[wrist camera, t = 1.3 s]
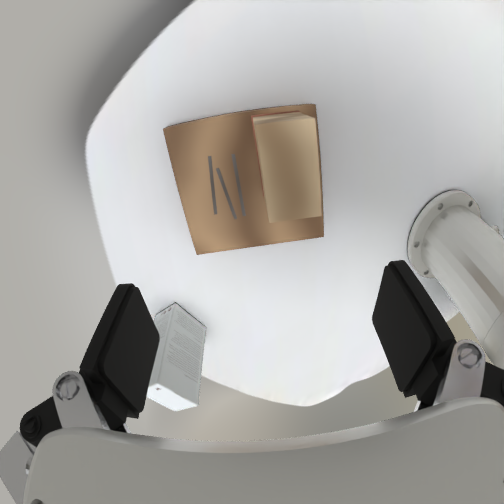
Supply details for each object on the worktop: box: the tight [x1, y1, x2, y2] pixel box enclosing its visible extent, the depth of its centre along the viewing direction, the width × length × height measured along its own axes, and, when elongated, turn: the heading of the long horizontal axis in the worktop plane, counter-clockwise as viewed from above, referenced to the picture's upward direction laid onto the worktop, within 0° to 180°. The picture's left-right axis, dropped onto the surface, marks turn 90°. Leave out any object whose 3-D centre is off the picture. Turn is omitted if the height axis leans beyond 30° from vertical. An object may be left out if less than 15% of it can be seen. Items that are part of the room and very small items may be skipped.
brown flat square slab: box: [163, 104, 324, 255], centre depth 25 cm, size 13×13×2 cm
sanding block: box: [251, 110, 322, 223], centre depth 20 cm, size 4×7×6 cm, turn 8°
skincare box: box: [146, 303, 206, 411], centre depth 31 cm, size 6×4×12 cm
